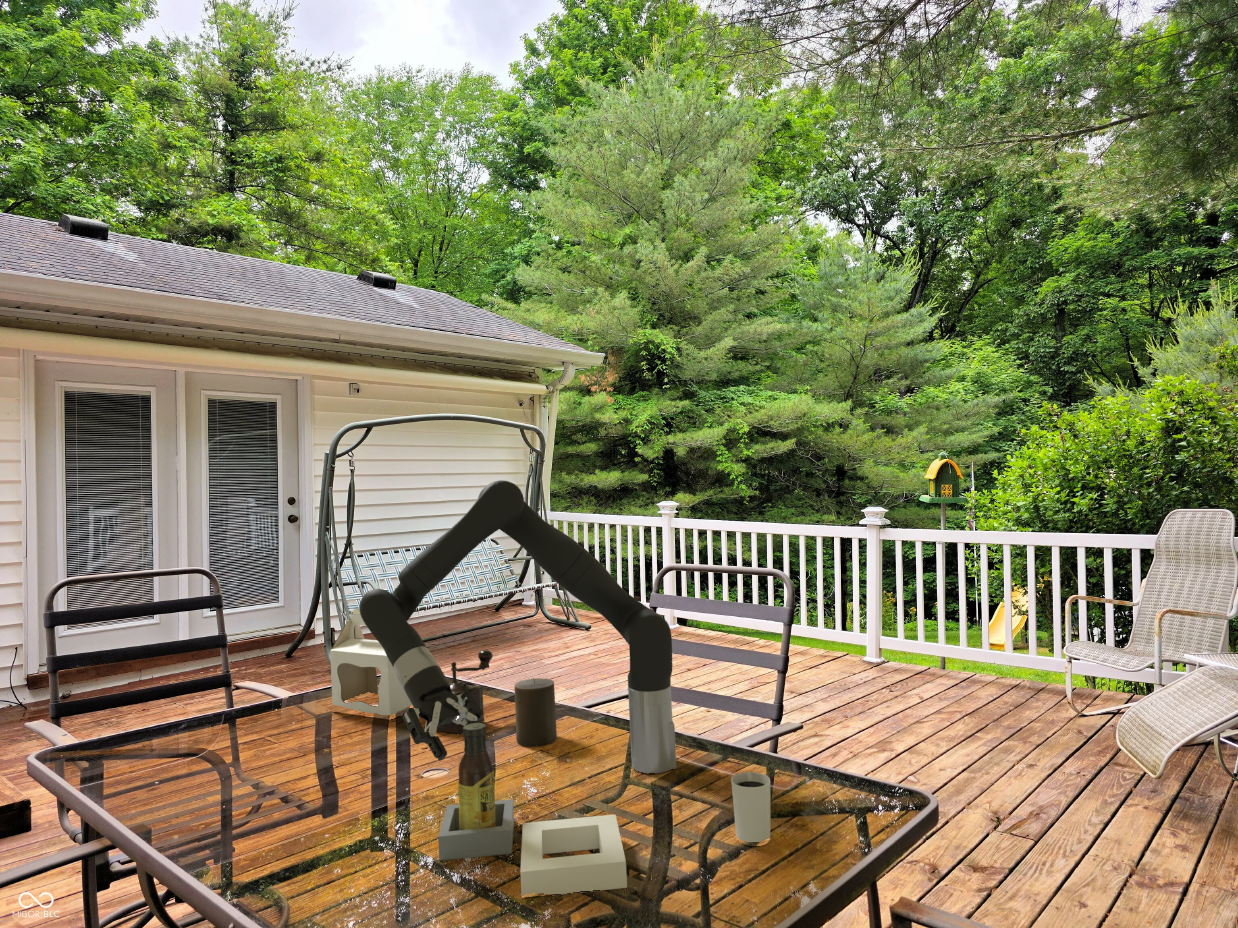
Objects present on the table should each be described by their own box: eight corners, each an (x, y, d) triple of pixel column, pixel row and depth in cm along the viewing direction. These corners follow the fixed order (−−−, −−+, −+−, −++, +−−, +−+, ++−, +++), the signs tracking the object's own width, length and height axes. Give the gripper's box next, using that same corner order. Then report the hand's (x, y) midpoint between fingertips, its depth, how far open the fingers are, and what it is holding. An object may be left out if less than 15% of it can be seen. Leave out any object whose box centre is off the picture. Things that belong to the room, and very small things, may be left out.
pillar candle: (540, 749, 174) (537, 685, 174) (508, 743, 179) (505, 680, 179) (565, 736, 182) (562, 674, 182) (533, 730, 187) (530, 670, 188)
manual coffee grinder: (462, 735, 186) (459, 663, 186) (427, 730, 191) (424, 660, 191) (498, 716, 200) (495, 648, 200) (465, 712, 205) (462, 646, 205)
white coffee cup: (749, 852, 123) (746, 791, 124) (725, 835, 129) (723, 777, 130) (781, 841, 127) (778, 781, 127) (756, 825, 132) (754, 768, 133)
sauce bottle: (488, 850, 128) (483, 733, 128) (454, 847, 129) (449, 732, 130) (501, 831, 135) (497, 720, 135) (469, 829, 136) (464, 719, 136)
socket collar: (616, 837, 131) (615, 814, 131) (627, 887, 115) (625, 861, 115) (523, 846, 129) (522, 822, 129) (521, 898, 113) (520, 871, 113)
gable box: (331, 712, 211) (327, 612, 211) (367, 698, 222) (363, 604, 223) (391, 720, 200) (386, 616, 201) (424, 706, 212) (420, 607, 213)
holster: (514, 820, 139) (513, 799, 139) (511, 853, 127) (510, 829, 127) (448, 827, 137) (447, 805, 137) (439, 860, 125) (438, 836, 125)
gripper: (396, 673, 134) (439, 750, 127) (459, 656, 146) (502, 726, 138) (380, 698, 138) (421, 775, 130) (443, 680, 149) (484, 749, 141)
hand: (463, 749), depth 134 cm, fingers open, 8 cm apart
